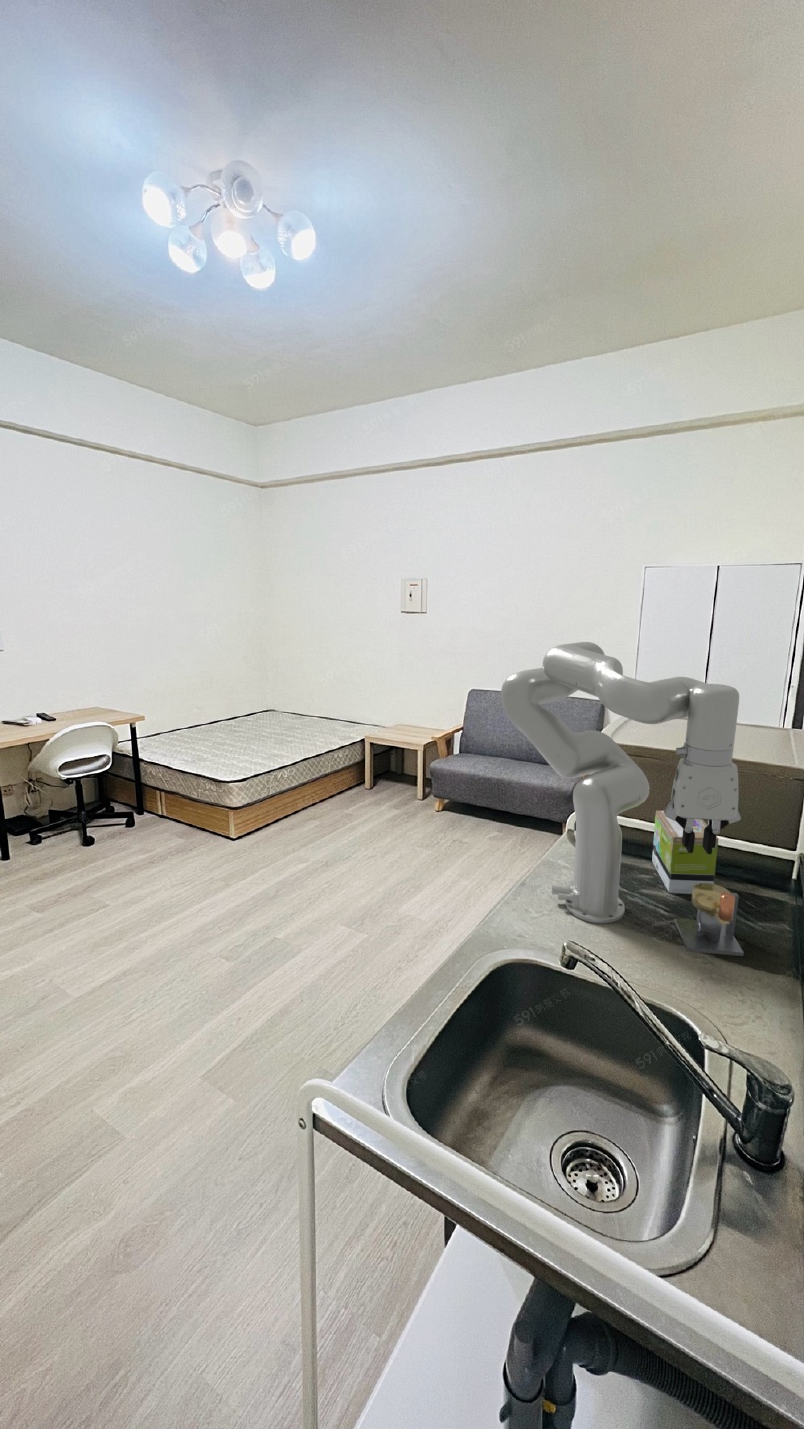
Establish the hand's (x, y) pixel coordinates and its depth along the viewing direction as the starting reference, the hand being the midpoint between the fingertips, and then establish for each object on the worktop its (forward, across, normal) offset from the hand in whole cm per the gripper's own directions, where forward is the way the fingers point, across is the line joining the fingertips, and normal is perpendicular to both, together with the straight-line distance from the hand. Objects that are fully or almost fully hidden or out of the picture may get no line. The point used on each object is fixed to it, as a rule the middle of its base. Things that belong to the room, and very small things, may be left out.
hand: (697, 849), depth 107 cm
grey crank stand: (+23, +6, +8) cm, 25 cm away
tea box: (+23, +7, +32) cm, 40 cm away
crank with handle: (+16, +6, +5) cm, 17 cm away
